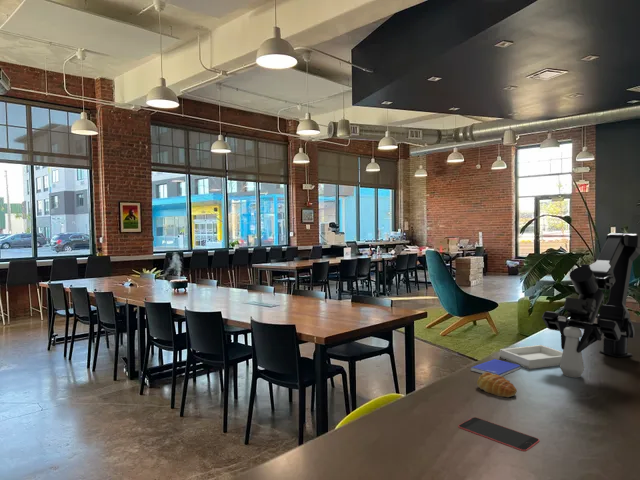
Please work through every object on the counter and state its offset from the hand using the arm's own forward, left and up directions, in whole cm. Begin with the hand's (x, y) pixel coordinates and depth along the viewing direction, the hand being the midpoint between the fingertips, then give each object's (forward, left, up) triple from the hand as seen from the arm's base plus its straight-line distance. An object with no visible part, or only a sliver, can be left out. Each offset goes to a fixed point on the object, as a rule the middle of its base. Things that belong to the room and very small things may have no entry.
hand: (569, 350), depth 124 cm
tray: (-2, -14, -7) cm, 16 cm away
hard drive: (+15, -11, -8) cm, 20 cm away
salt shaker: (-1, 0, -7) cm, 7 cm away
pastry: (+26, +2, -8) cm, 27 cm away
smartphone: (+42, +22, -8) cm, 48 cm away
